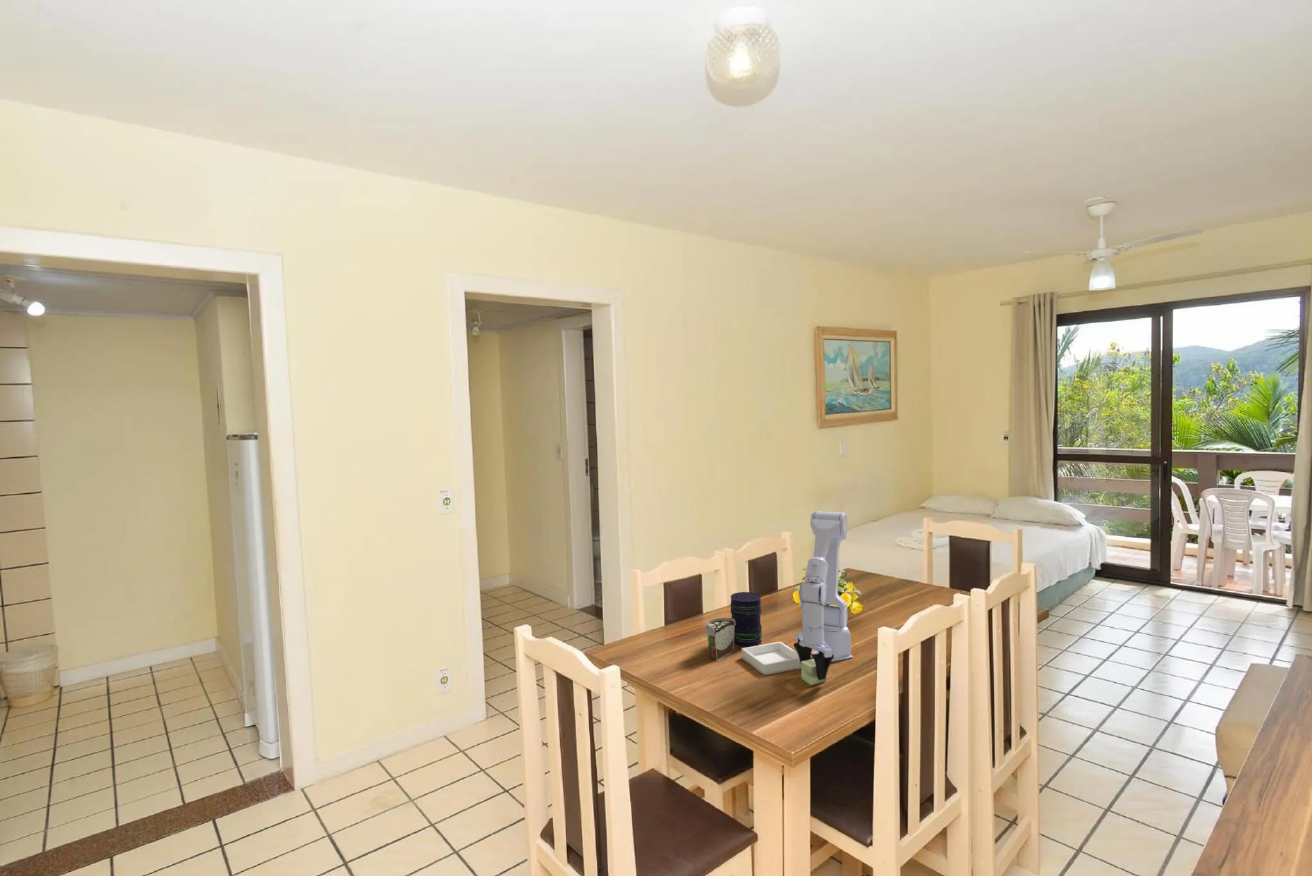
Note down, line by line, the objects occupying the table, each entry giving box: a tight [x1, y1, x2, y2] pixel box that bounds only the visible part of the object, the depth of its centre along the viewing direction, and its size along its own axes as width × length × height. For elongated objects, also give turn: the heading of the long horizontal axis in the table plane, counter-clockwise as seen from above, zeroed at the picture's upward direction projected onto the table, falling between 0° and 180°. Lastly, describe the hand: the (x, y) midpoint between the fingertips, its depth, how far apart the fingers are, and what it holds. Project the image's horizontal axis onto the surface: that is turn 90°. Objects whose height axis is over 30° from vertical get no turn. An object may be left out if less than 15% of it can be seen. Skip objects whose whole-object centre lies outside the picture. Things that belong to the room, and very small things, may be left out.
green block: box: [800, 658, 827, 686], centre depth 180 cm, size 5×4×5 cm
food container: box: [704, 617, 736, 662], centre depth 200 cm, size 12×6×10 cm, turn 141°
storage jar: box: [730, 591, 763, 648], centre depth 209 cm, size 10×10×15 cm
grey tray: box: [741, 641, 801, 676], centre depth 193 cm, size 14×14×3 cm
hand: (813, 673), depth 180 cm, fingers open, 7 cm apart
